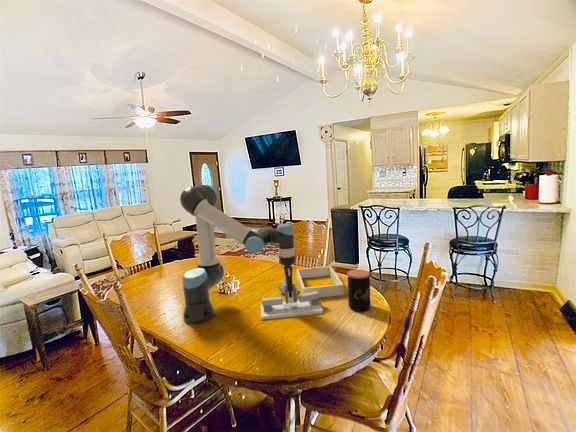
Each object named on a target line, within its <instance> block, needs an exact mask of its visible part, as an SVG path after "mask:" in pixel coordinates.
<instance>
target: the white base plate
mask: <svg viewBox="0 0 576 432" xmlns="http://www.w3.org/2000/svg"><path fill="white" fill-rule="evenodd" d="M297 296H298V297H297V298H298V299H297V302H296V303H287V304H286V301H283V297H282V296H273V297H262V299H261V304H260V320H263V321H264V320H272V319H282V318H289V317H300V316H310V315H311V316H312V315H319V314H321V315H322V314H323V313H324V310H323V307H322V306H321V303H320V298H319V293H318V292H317V291H314V292H309V293H305V294H302V293H300V294H298V295H297Z"/></svg>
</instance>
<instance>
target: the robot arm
mask: <svg viewBox="0 0 576 432" xmlns="http://www.w3.org/2000/svg"><path fill="white" fill-rule="evenodd" d="M218 199H219V195H218V191H216V189H215V188H214V187H213V186H211V185H209V184H199V185H195V186H188V187H186V188H184V190H183V191H182V192H181V194H180V197H179V201H180V204H181V207H182V208H183V209H184V211H186V212H187V213H189V214H190V215H191V216H193V217H195V224H196V233H197V234H196V235H197V244H198V253H199V254H198V255H199V260H198V262H197V263H196V268H192V269H190V270H187V271H186V272H184V273H183V275H182V283H181V284H182V289H183V295H184V303H185V305H184V310H183V316H182V317H183V321H184V322H185V323H186V324H191V325H196V324H201V323H204V322H205V323H206V322H207V321H210V320H211V319H212V318H214V316H215V313H216V312H215V308H214V305H213V304H212V302H211V300H210V290H211V289H212V288H213V287H215V286H216V285H218V284H219V283H220V282H221V281H222V280H223V278H224V276H225V268H224V266H223V265H222V263H221V262H220V259H219V258H218V257H217V249H216V241H215V240H216V238H215V237H216V236H215V229H214V227H215V228H217V230H220V231H221V232H223V233H225V234H226V235H228V236H229V237H231V238H232V239H234V240H236V241H238V242H239V243H241V244H242V245H244V248H245V250H246V251H247V252H248V253H249V254H252V255H254V254H258V253H260V252H261V251H263V249H264V248H265V247H268V245H278V255H279V264H280V265H281V266H283V271H284V277H285V279H286V286H287V290H286V291H287V294H288V303H294V300H293V266H292V265H294V264H296V255H295V251H296V250H297V249H296V248H295V241H294V240H295V239H294V238H295V237H294V229H293V225H292V224H290V223H281V224H277V227H276V228H257V229H255V230H252V229H251V228H249V227H247V226H246V225H244V224H242V223H241V222H239V221H237V220H236V219H234V218H233V217H231V216H229V215H228V214H227V213H225V212H223V211H221V210H220V209H218V208H217V207H216V206H215V205H216V204H217V202H218Z"/></svg>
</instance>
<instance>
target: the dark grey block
mask: <svg viewBox="0 0 576 432" xmlns="http://www.w3.org/2000/svg"><path fill="white" fill-rule="evenodd" d="M296 288H297V287H296V284H294V285H293V300H294V303H296V302H297V300H298V299H297V298H298V297H297V296H298V295H297V292H296ZM286 290H287V286H284V292H285V294H284V300H285V301H284V302H286V304H287V303H288V294H287V291H286Z"/></svg>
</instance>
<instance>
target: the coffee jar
mask: <svg viewBox="0 0 576 432" xmlns="http://www.w3.org/2000/svg"><path fill="white" fill-rule="evenodd" d="M346 274H347V297H348V298H347V301H348V303H347V304H348V307H349V309H350V310H351V311H354V312H358V313H364V312H367V311H369V310H370V308H371V279H370V275H371V274H370V272H369V271H368V270H365V269H361V268H360V269H351V270H348V271H347V273H346Z"/></svg>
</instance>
